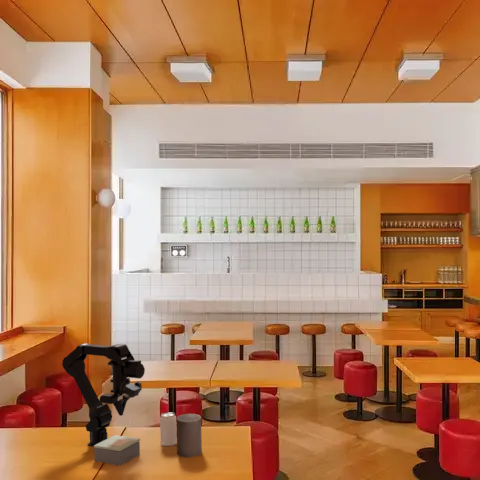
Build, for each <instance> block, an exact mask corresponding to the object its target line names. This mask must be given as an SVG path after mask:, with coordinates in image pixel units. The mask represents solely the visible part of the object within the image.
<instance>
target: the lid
mask: <svg viewBox="0 0 480 480" xmlns="http://www.w3.org/2000/svg"><path fill="white" fill-rule="evenodd" d="M138 441H139V442H140V441H141V438H139V437H134V436H133V437H132V436H123V435H117V434H114V435H112V436H110V437H107V439H106V440H104V441H102V442H100V443H98V444H96V445H94V446H93V448H100V449H107V450H114V451H122V450H123V449H125V448H127V447H129V446H131V445H133V444H135V443H136V442H138Z"/></svg>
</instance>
